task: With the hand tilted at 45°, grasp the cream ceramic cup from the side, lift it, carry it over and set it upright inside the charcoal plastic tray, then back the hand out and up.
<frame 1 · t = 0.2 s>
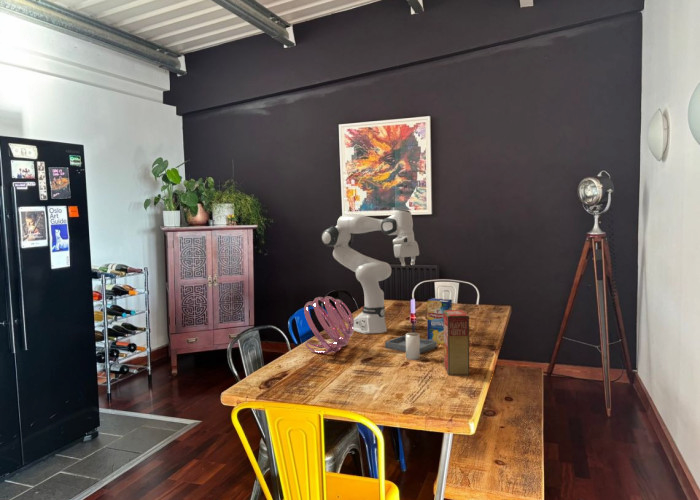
hand: (408, 265, 275), 39 cm above the table, tool pointing down, fingers open, 8 cm apart
food packaging: (456, 370, 220), on the table
tray: (410, 347, 257), on the table
spiral basket: (329, 351, 253), on the table
cup: (412, 357, 240), on the table
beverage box: (439, 342, 267), on the table
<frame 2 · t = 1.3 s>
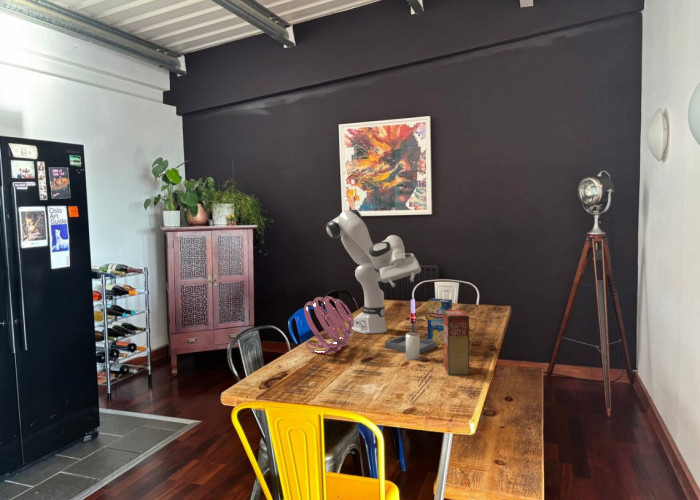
hand: (402, 283, 251), 33 cm above the table, tool tilted 45°, fingers open, 8 cm apart
nothing on the table moved.
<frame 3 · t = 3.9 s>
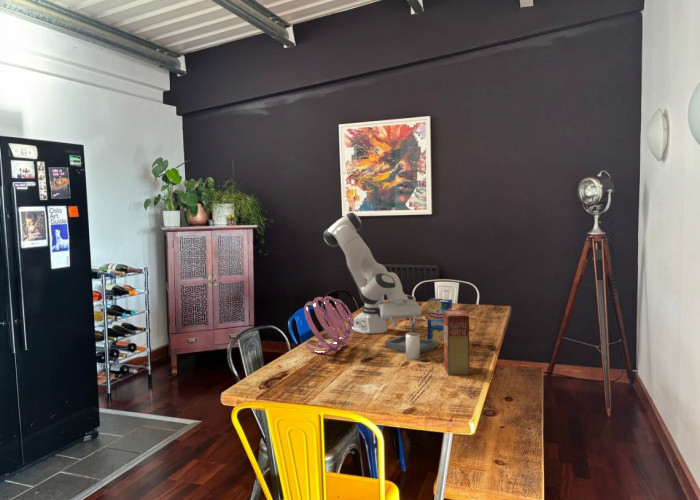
hand: (404, 325, 247), 14 cm above the table, tool tilted 45°, fingers open, 8 cm apart
nothing on the table moved.
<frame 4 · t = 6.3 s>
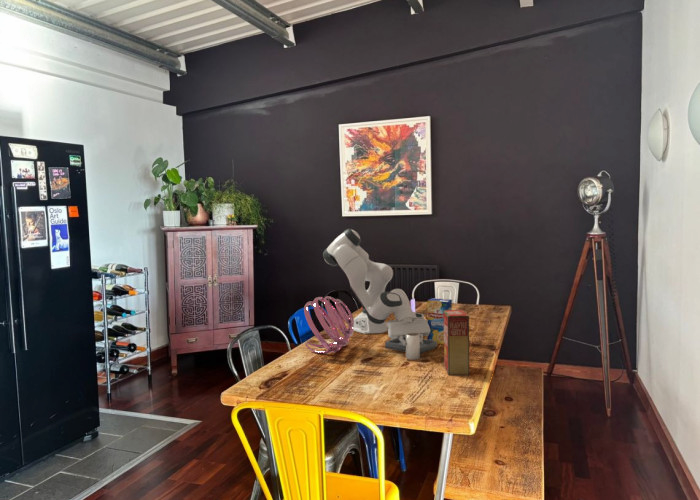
hand: (413, 344, 239), 6 cm above the table, tool tilted 45°, fingers closed on cup, 6 cm apart
cup: (412, 357, 240), on the table, touching gripper
everything else where it was.
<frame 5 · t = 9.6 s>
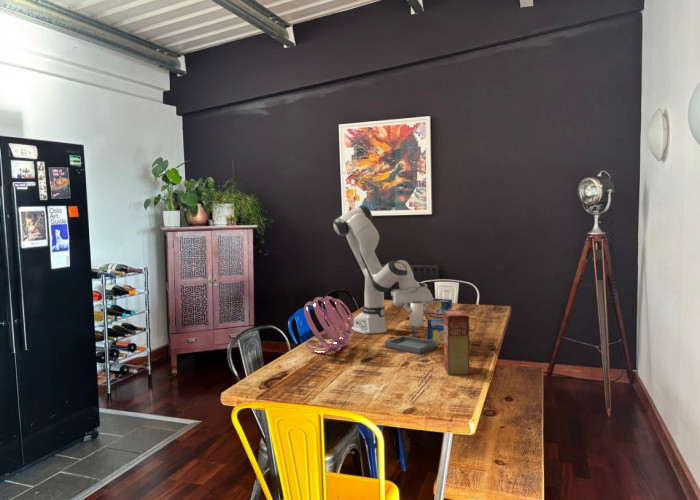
hand: (417, 311, 251), 19 cm above the table, tool tilted 45°, fingers closed on cup, 6 cm apart
cup: (416, 324, 252), point 13 cm above the table, touching gripper
everything else where it was.
when the fingers open (9 cm above the table, at t = 12.8 s): cup drops 1 cm, resting on tray.
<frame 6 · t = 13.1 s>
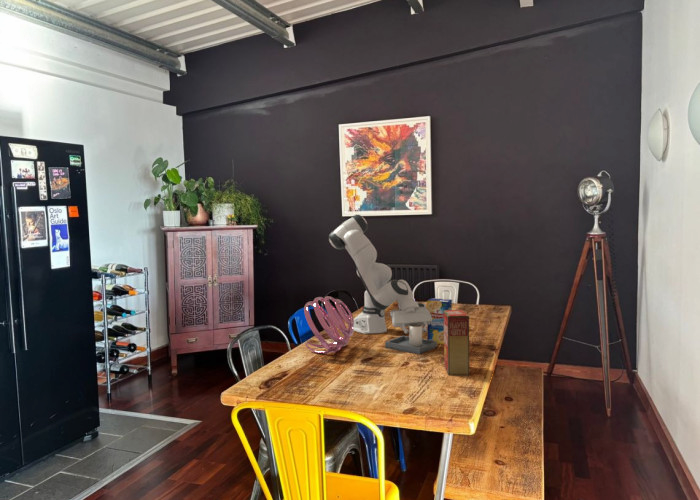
hand: (416, 332, 252), 9 cm above the table, tool tilted 45°, fingers open, 8 cm apart
cup: (415, 347, 253), point 1 cm above the table, touching tray
everything else where it was.
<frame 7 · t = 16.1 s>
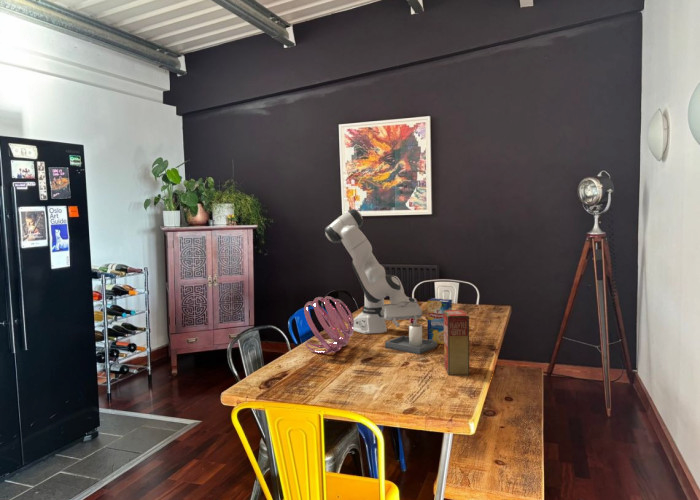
hand: (406, 325, 264), 9 cm above the table, tool tilted 45°, fingers open, 8 cm apart
nothing on the table moved.
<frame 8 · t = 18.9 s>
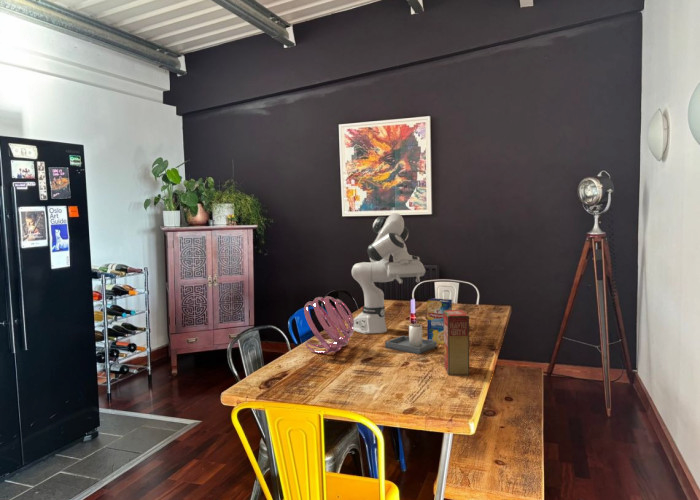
hand: (409, 282, 264), 31 cm above the table, tool tilted 45°, fingers open, 8 cm apart
nothing on the table moved.
at the end: cup inside the target area on the tray (4.5 cm from its centre), point 1.0 cm above the tray's base; cup tilted 0°; the gripper is holding nothing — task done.
